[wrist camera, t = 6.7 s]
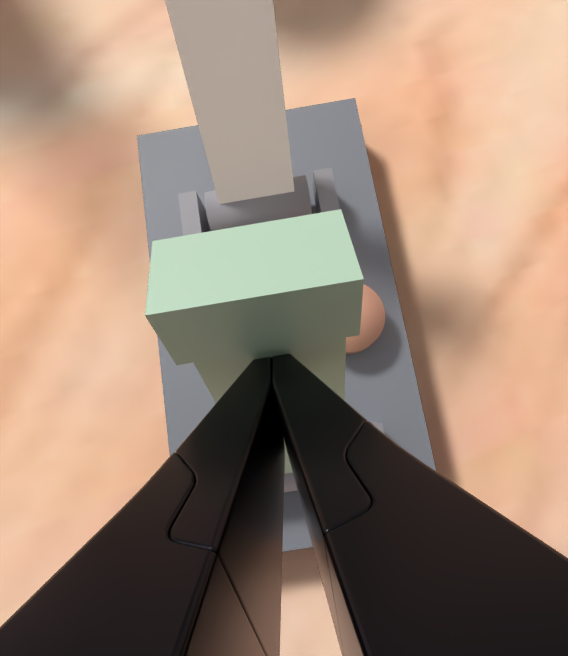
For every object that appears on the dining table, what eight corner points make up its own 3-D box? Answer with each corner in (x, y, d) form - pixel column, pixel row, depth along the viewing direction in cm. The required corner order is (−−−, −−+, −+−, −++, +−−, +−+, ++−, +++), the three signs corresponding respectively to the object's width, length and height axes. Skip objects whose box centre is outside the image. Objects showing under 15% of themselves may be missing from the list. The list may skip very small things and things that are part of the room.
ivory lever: (313, 230, 18) (275, -223, 9) (215, 246, 18) (85, -187, 9) (306, 206, 20) (268, -209, 11) (215, 222, 20) (102, -178, 11)
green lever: (359, 486, 16) (389, 279, 7) (251, 503, 16) (119, 324, 7) (349, 438, 18) (360, 202, 8) (247, 454, 18) (132, 240, 8)
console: (429, 510, 19) (464, 539, 15) (196, 546, 19) (167, 585, 15) (349, 130, 23) (359, 70, 19) (154, 164, 23) (122, 112, 19)
